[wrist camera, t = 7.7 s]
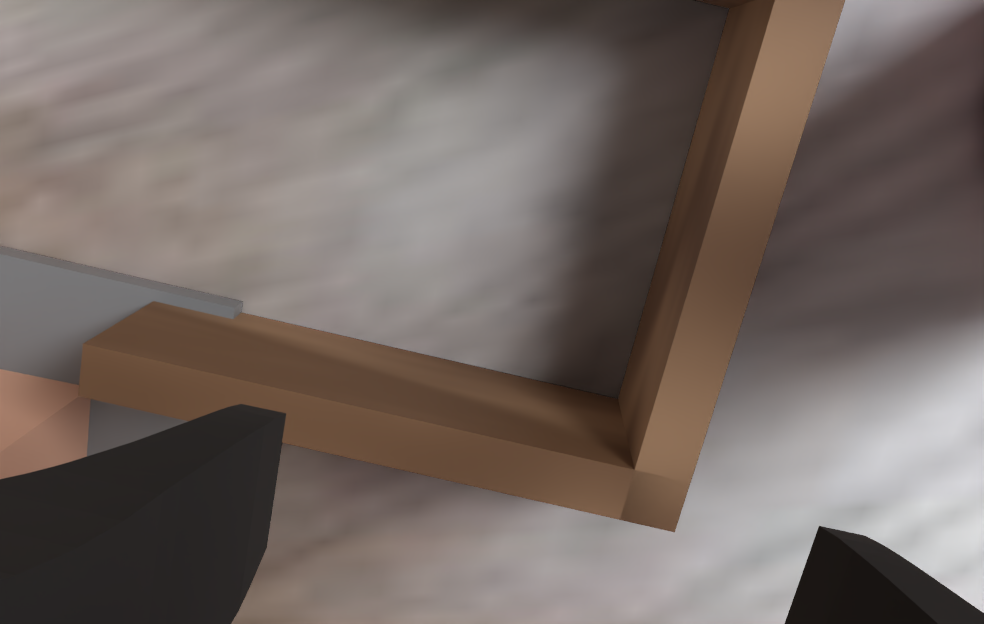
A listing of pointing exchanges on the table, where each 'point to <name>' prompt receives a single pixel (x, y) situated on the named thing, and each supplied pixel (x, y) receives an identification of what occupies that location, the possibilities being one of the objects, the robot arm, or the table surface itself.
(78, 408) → the block
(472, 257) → the table surface
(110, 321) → the coaster
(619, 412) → the brown piece
